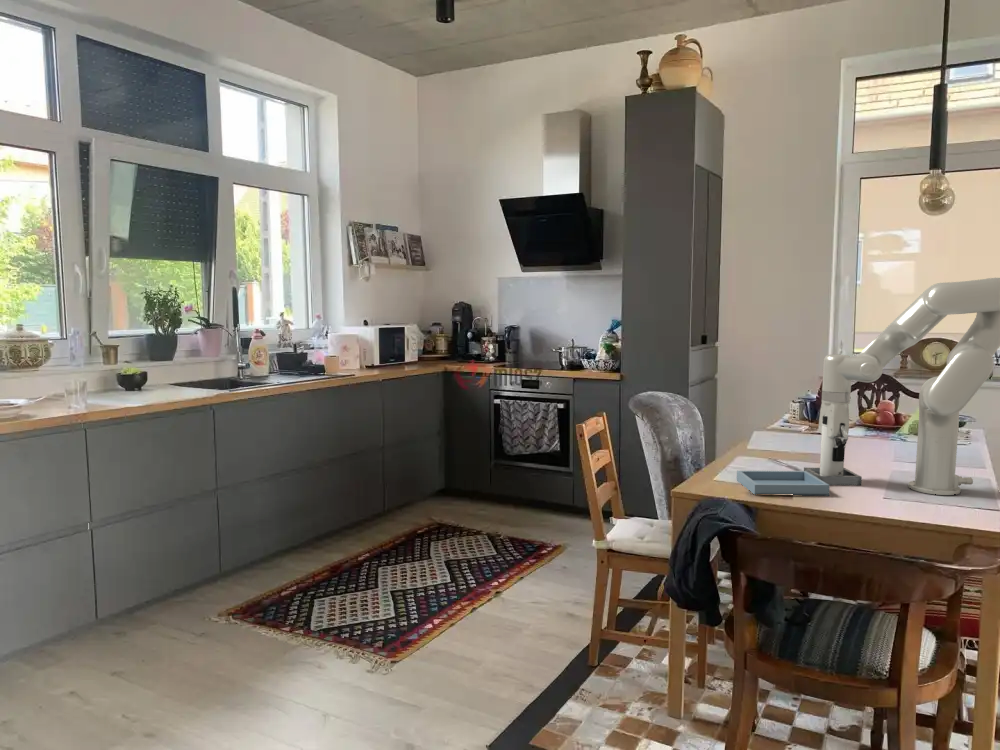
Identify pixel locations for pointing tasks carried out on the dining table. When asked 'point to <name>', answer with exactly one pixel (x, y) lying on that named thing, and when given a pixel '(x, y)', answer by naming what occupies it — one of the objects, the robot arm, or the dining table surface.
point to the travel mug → (829, 454)
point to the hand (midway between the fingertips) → (832, 458)
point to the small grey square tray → (837, 477)
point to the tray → (783, 483)
